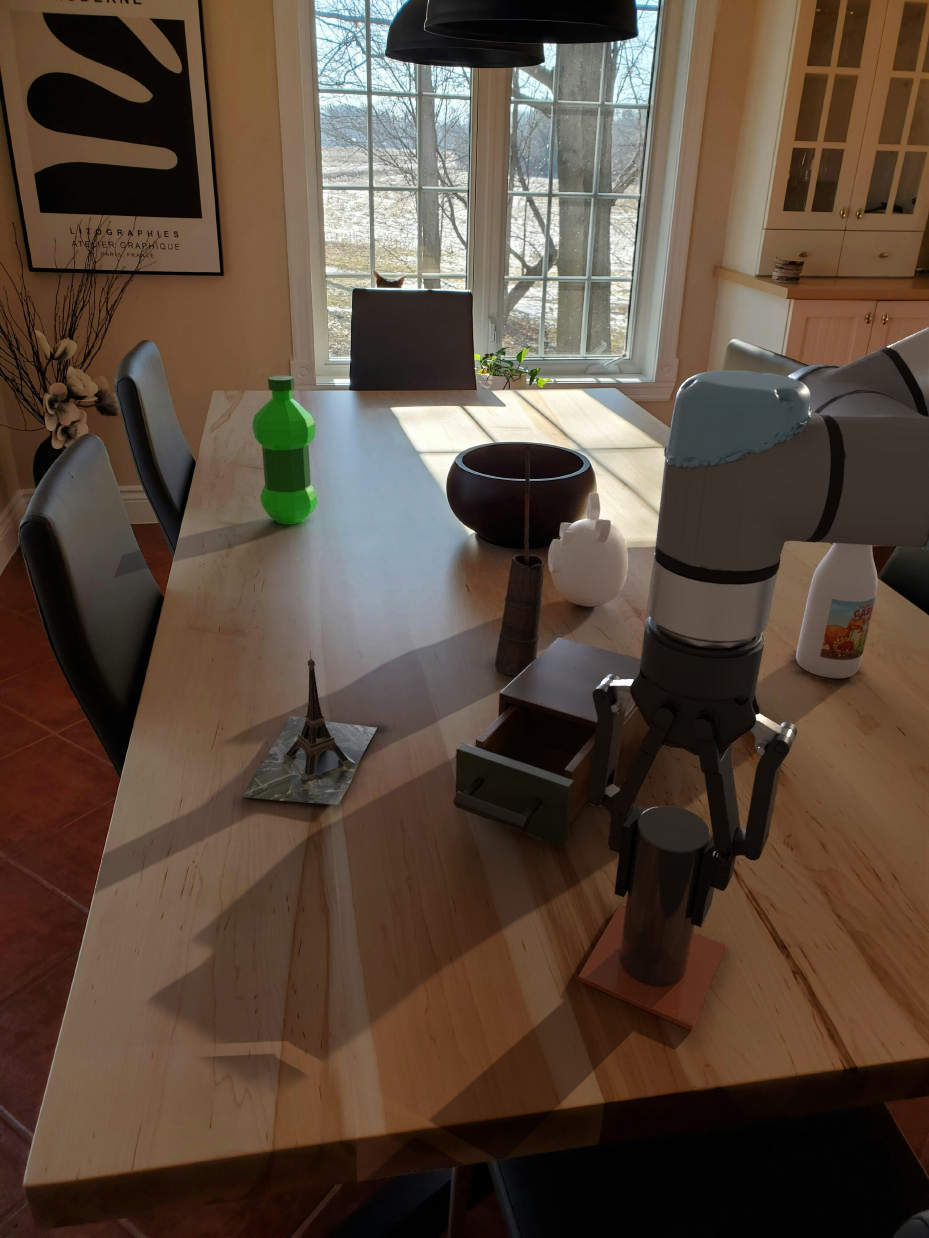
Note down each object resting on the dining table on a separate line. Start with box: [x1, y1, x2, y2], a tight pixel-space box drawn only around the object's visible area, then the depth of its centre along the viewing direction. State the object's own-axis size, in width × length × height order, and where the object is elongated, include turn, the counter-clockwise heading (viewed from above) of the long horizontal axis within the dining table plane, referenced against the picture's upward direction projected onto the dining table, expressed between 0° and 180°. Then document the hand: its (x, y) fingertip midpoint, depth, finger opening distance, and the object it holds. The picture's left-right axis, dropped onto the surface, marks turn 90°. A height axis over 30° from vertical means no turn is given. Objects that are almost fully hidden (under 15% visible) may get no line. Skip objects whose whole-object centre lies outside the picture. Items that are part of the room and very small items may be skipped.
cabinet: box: [497, 637, 649, 788], centre depth 96 cm, size 15×13×9 cm
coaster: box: [577, 903, 727, 1032], centre depth 71 cm, size 9×9×1 cm
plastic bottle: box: [252, 374, 318, 525], centre depth 156 cm, size 10×10×25 cm
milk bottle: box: [795, 543, 879, 679], centre depth 111 cm, size 8×8×20 cm
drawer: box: [453, 704, 596, 849], centre depth 86 cm, size 18×11×7 cm, turn 150°
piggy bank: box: [547, 492, 629, 607], centre depth 128 cm, size 12×12×15 cm
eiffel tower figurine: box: [241, 650, 378, 806], centre depth 91 cm, size 15×10×13 cm
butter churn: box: [494, 445, 545, 677], centre depth 107 cm, size 9×10×28 cm
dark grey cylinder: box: [620, 805, 711, 986], centre depth 68 cm, size 5×5×13 cm
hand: (662, 898), depth 68 cm, fingers closed on dark grey cylinder, 5 cm apart
